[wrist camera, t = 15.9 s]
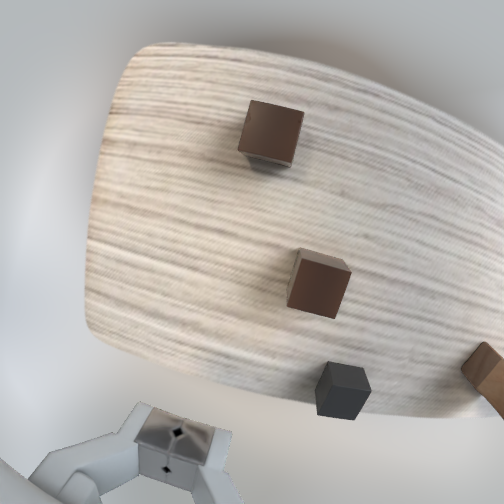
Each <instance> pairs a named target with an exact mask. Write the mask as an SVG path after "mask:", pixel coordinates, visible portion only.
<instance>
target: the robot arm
mask: <svg viewBox="0 0 504 504" xmlns="http://www.w3.org/2000/svg"><path fill="white" fill-rule="evenodd" d="M215 428H216V429H215ZM231 437H232V431H228V430H225V429H221V428H217V427H214V426H210V425H207V424H203V423H200V422H196V421H193V420H190V419H187V418H182V417H179V416H177V415H174V414H171V413H169V412H166V411H163V410H161V409H158V408H156V407H153V406H150V405H148V404H145V403H143V402H138V403H137V404H136V405H135V407H134V408H133V410H132V411H131V413H130V414H129V416H128V417H127V419H126V420H125V422H124V423H123V425H122V427H121V428H120V429H119V431H118V432H117V434H115V433H113V432H112V433H109V434H106V435H103V436H100V437H97V438H94V439H91V440H88V441H85V442H82V443H79V444H76V445H73V446H69V447H66V448H63V449H59V450H56V451H52V452H49V454H48V455H47V456H46V457H45V459H44V460H43V461H42V462H41V463H40V465H39V466H38V467H37V468H36V469H35V471H34V472H33V473H32V474H31V476H30V477H29V478H28V479H26V478H24V477H23V476H22V475H20V474H19V473H18V472H17V471H16V470H14V469H13V468H12V467H11V466H9V465H8V464H7V463H6V462H4V461H3V460H2V459H1V458H0V504H102V501H101V499H100V496H101V495H103V494H105V493H107V492H109V491H111V490H113V489H115V488H117V487H119V486H121V485H122V484H124V483H126V482H128V481H130V480H132V479H134V478H135V477H137V476H139V474H141V475H144V476H146V477H149V478H152V479H155V480H158V481H161V482H164V483H166V484H170V485H172V486H175V487H178V488H181V489H184V490H187V491H190V492H191V494H192V497H193V499H194V502H195V504H245V503H244V501H243V499H242V498H241V496H240V494H239V492H238V490H237V488H236V486H235V485H234V483H233V481H232V479H231V477H230V475H229V473H227V472H224V467H225V462H226V459H227V454H228V450H229V446H230V442H231Z"/></svg>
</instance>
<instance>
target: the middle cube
mask: <svg viewBox="0 0 504 504" xmlns="http://www.w3.org/2000/svg"><path fill="white" fill-rule="evenodd" d="M351 273H352V272H351V271H350V269H349V268H348V266H347V265H346V264H345V262H344V261H343V260H342V259H339V258H335V257H332V256H328V255H325V254H321V253H318V252H314V251H311V250H307V249H304V248H299V251H298V254H297V258H296V261H295V264H294V268H293V271H292V274H291V278H290V281H289V284H288V287H287V307H290V308H294V309H298V310H301V311H305V312H309V313H313V314H317V315H321V316H325V317H329V318H333V319H335V317H336V314H337V312H338V309H339V306H340V304H341V301H342V298H343V296H344V293H345V290H346V287H347V285H348V282H349V279H350V276H351Z"/></svg>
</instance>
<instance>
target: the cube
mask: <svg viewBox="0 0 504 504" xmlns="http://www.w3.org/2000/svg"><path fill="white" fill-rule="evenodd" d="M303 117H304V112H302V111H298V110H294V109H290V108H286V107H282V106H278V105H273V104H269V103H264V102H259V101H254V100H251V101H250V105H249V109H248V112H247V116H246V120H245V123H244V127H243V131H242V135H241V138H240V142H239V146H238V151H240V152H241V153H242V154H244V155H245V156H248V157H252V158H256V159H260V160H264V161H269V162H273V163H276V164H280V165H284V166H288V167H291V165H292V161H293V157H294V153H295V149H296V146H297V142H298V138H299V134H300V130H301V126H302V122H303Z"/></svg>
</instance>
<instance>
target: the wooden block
mask: <svg viewBox="0 0 504 504" xmlns="http://www.w3.org/2000/svg"><path fill="white" fill-rule="evenodd" d="M461 370H462V373H463V374H464V375H465V376H466V378H467V379H468V380H469V381H470V383H471V384H472V385H473V387H474V388H475V389H476V390H477V391H478V392H479V393H480V394H481V395H482V396H484V397H485V398H486V399H487V401H488V402H489V403H490V404H491V405H492V406H493V407H494V408H495V409H496V411H497V412H498V413H499V415H500V416H501V417H502V418H503V419H504V359H503V358H502V357H501V356H500V355H499V354H498V353H497V352H496V351H495V350H494V349H493V348H492V347H491V346H490V345H489V344H488V343H487V342H483V343H482V344H481V345H480V346H479V347H478V349H477V350H476V351H475V352H474V354H473V355H472V356H471V357H470V358H469V359H468V361H467V362H466V363H465V364H464V365H463V366H462V368H461Z"/></svg>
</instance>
